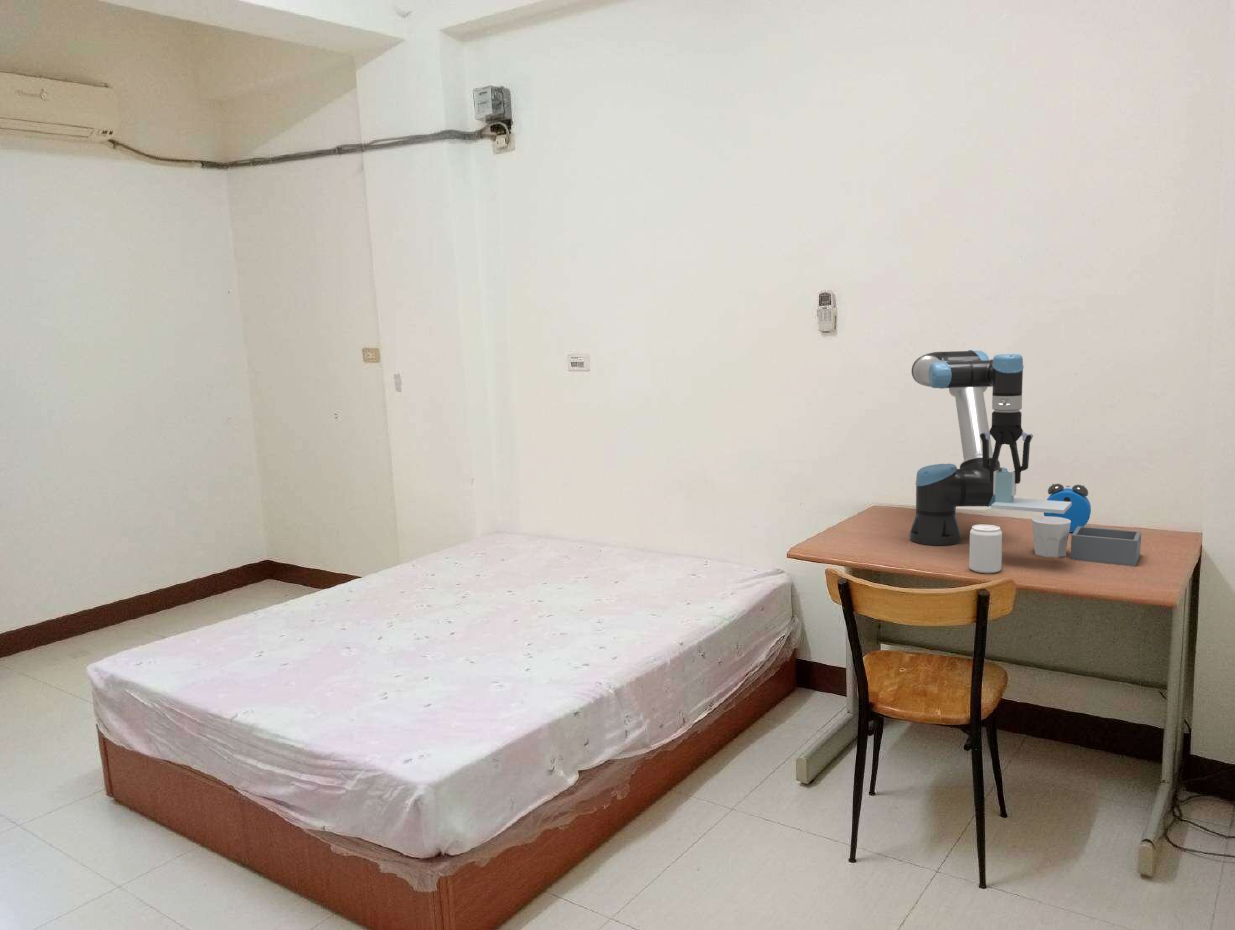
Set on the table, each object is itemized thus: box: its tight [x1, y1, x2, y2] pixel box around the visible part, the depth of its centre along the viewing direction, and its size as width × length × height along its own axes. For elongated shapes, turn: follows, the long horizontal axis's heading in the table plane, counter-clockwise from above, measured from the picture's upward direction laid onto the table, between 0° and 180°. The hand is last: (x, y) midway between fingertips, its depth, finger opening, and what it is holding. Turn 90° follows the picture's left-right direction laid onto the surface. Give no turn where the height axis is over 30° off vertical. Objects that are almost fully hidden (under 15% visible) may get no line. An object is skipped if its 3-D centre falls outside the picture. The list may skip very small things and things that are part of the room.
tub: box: [1070, 526, 1142, 567], centre depth 253 cm, size 16×12×7 cm
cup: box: [1031, 515, 1071, 559], centre depth 259 cm, size 10×10×10 cm
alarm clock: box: [1043, 483, 1092, 533], centre depth 284 cm, size 13×6×15 cm, turn 61°
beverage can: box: [968, 523, 1003, 574], centre depth 246 cm, size 8×8×12 cm
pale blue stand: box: [990, 471, 1072, 514], centre depth 248 cm, size 18×13×9 cm
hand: (1004, 494), depth 252 cm, fingers closed on pale blue stand, 4 cm apart
